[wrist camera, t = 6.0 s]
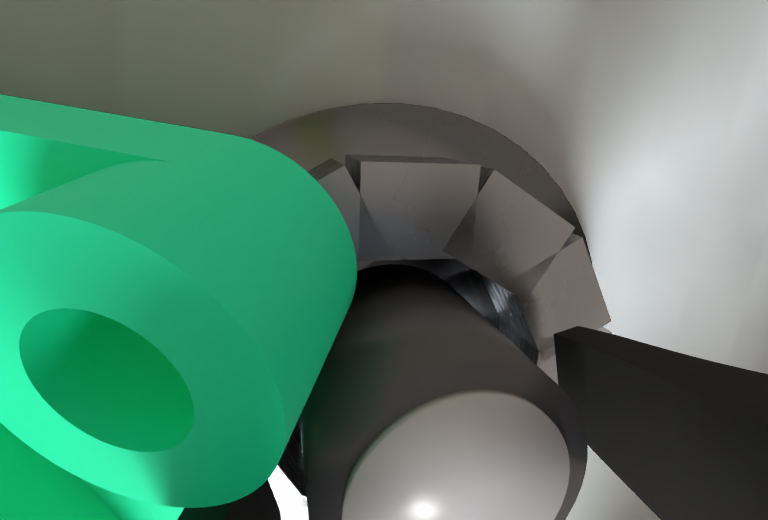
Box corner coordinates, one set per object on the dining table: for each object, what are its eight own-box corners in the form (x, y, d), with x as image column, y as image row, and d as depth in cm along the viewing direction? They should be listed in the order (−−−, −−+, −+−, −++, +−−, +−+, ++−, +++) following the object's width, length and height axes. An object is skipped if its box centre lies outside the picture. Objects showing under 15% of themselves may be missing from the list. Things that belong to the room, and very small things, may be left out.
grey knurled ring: (646, 254, 15) (735, 285, 12) (432, 556, 16) (465, 646, 14) (292, -13, 10) (300, -64, 7) (44, 443, 12) (-25, 542, 9)
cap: (504, 314, 13) (646, 431, 8) (410, 451, 13) (489, 637, 9) (357, 229, 11) (425, 314, 6) (257, 392, 12) (249, 584, 7)
